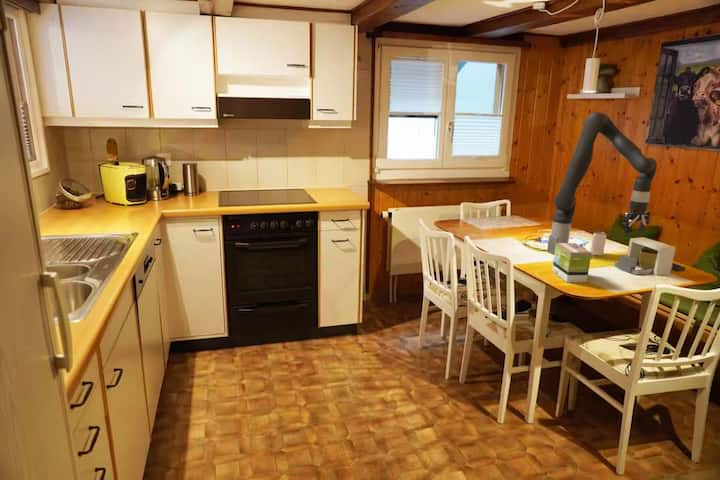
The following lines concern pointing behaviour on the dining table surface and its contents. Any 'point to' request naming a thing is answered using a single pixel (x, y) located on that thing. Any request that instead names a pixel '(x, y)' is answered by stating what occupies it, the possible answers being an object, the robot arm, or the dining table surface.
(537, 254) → the dining table surface
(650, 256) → the flower pot
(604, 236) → the can
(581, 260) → the tea box
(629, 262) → the sled
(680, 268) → the pit tray
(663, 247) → the tunnel
